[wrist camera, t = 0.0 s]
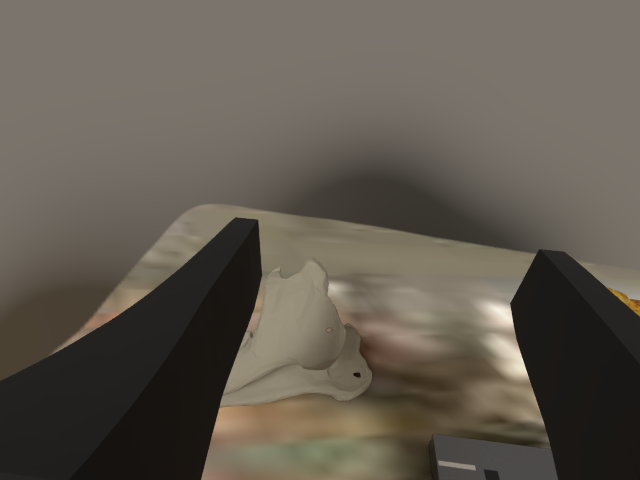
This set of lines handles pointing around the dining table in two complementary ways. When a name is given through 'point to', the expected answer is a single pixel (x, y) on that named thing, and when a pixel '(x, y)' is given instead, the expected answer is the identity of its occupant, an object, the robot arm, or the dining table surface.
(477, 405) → the dining table surface
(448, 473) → the panel
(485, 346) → the dining table surface
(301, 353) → the jawbone
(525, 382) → the dining table surface
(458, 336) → the dining table surface
